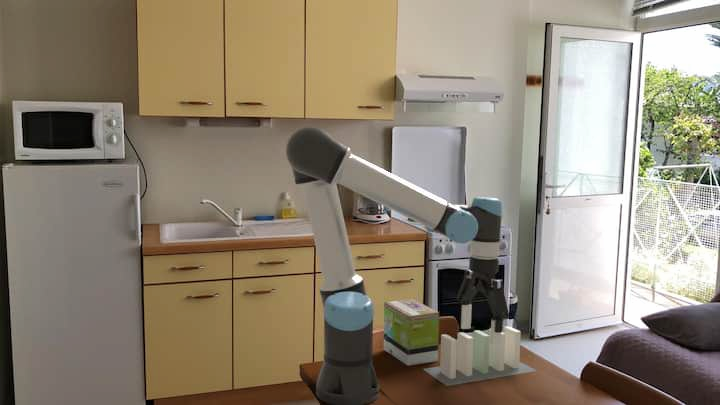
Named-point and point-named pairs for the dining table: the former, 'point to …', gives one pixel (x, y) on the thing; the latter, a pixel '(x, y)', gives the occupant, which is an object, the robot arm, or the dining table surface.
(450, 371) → the domino
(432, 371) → the slate mat
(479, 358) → the sage domino
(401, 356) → the tea box
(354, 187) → the robot arm
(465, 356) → the domino
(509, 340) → the domino
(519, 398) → the dining table surface
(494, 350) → the domino
